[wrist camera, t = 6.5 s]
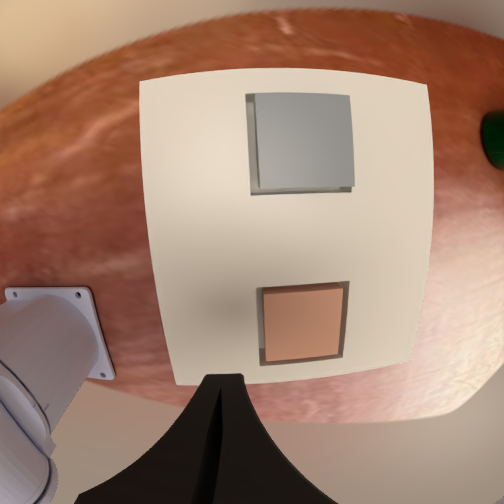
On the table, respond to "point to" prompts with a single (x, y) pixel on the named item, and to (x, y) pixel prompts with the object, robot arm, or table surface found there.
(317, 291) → the terracotta key
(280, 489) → the robot arm
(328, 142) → the slate key
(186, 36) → the table surface
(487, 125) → the soda can
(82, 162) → the table surface
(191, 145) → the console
